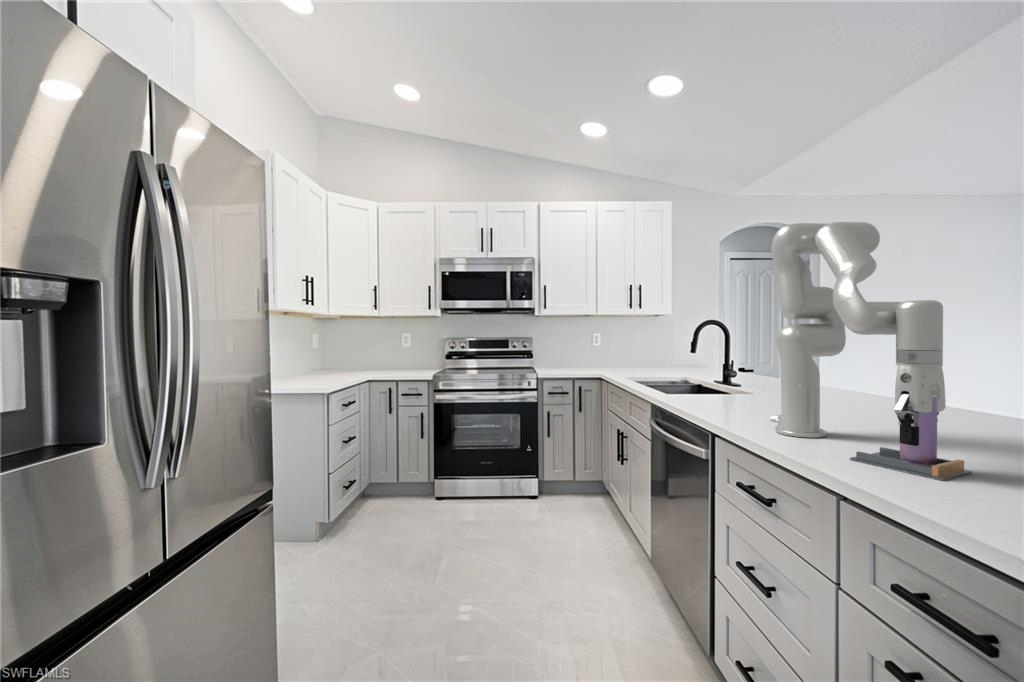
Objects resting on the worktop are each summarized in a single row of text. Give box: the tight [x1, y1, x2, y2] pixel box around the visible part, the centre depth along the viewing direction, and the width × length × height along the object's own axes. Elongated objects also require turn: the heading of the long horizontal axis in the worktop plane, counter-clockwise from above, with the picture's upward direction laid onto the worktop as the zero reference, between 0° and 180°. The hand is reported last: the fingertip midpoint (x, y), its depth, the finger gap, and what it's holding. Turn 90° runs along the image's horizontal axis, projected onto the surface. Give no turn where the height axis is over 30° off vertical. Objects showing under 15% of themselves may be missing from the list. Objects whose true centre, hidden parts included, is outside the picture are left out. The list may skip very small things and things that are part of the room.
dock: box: [849, 446, 973, 482], centre depth 101 cm, size 17×11×2 cm, turn 24°
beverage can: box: [899, 395, 938, 467], centre depth 99 cm, size 6×6×15 cm
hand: (918, 442), depth 99 cm, fingers closed on beverage can, 5 cm apart
